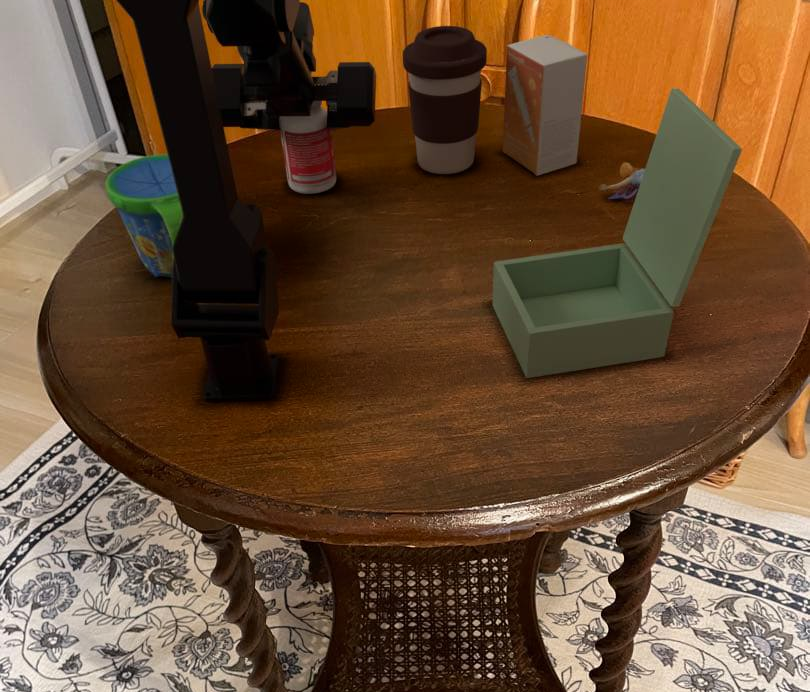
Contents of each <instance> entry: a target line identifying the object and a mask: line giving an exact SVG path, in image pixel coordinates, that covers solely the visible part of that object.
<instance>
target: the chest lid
mask: <svg viewBox="0 0 810 692" xmlns="http://www.w3.org/2000/svg"><path fill="white" fill-rule="evenodd" d="M655 135H656V136H655V138H654V141H653V144H652V147H651V151H650V153H649V156H648V160H647V163H646V166H645V168H644V169H645V171H644V174H643V177H642V181H641V184H640V185H639V186H640V187H638V190H637V192H636V196H635V199H634V202H633V205H632V208H631V211H630V214H629V217H628V221H627V224H626V227H625V228H624V229H625V230H624V233H623V236H622V240H623V241H624V243H625V244H626V245H627V247H628V248H629V249H630V251H631V252H632V254H633V255H634V256H635V258H636V259H637V261H638V262H639V263H640V265H641V266H642V268H643V269H644V270H645V272H646V273H647V275H648V276H649V277H650V279H651V280H652V282H653V283H654V284H655V286H656V287H657V289H658V290H659V291H660V293H661V294H662V296H663V297H664V298H665V300H666V301H667V303H668V304H669V305H670V307H671V308H680V305H681V303H682V301H683V298H684V296H685V293H686V291H687V288H688V285H689V283H690V281H691V279H692V276H693V274H694V270H695V268H696V266H697V263H698V260H699V258H700V256H701V254H702V250H703V248H704V246H705V243H706V241H707V238H708V235H709V234H710V231H711V229H712V226H713V223H714V221H715V219H716V216H717V214H718V211H719V208H720V206H721V203H722V201H723V199H724V196H725V193H726V191H727V188H728V186H729V183H730V182H731V178H732V176H733V174H734V171H735V169H736V167H737V164H738V161H739V158H740V156H741V154H742V151H743V148H742V147H741V146H740V145H739V144H738V143H737V142H736V141H735V140H734V139H733V138H732V137H730V136H729V135H728V134H727V132H725V131H724V130H723V129H722V128H721V127H720V126H719V125H718V123H716V122H715V121H713V120H712V118H711V117H709V116H708V114H707V113H706V112H704V111H703V109H702V108H700V107H699V106H698V105H697V104H696V103H695V102H694V101H692V99H691V98H689V96H687V94H685V93H684V92H683V91H682V90H681V89H680V88H674V87H671V89H670V92H669V95H668V98H667V101H666V104H665V106H664V110H663V113H662V117H661V119H660V123H659V126H658V129H657V132H656V134H655Z"/></svg>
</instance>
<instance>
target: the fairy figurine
mask: <svg viewBox="0 0 810 692" xmlns="http://www.w3.org/2000/svg"><path fill="white" fill-rule="evenodd" d="M644 171H645V168H641V167H639V168H638V167H634V166H633V165H632V164H631V163H630V162H625V161H624V162H623V163H622V164H621V166H620V168H619V174H620V177H621V178H622V179H623V181H621V182H618V183H615V184H611V185H607V184H605V183H602V184H600V185H599V187H598V191H605V190H618V189H619V188H620V189H619V191H617V192H616V193H615V194H613V195H612V196H610V197H607V199H608V200H615V199H622V198H623V199H626V200H628V199H630V198H632V197H633V196H634V195H635V194H637V193H638V190H639V187H640V184H641V181H642V177H643V174H644ZM633 187H635V190H634V189H632V193H631V190H629V188H633ZM622 190H625V191H624V193H622V194H620V191H622ZM627 193H629V194H627Z"/></svg>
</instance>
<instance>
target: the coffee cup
mask: <svg viewBox="0 0 810 692" xmlns="http://www.w3.org/2000/svg"><path fill="white" fill-rule="evenodd" d="M487 57H488V50H487V47H486V45H485V44H484V43H483V42H482V41H479V39H478V40H477V39H476V37H475V35H474V33H473V32H472V31H471V30H470V29H469V28H466V27H462V26H458V25H457V26H455V25H439V26H438V25H437V26H432V27H429V28H425V29H422V30H421V31H419V32H418V33H416V35H415V37H414V40H413V42H411V43H409V44H408V45H407V46H406V47H404V49H403V50H402V65H403V69H404V70H405V71H406V72H407V73H408V84H407V86H408V97H409V107H410V116H411V127H412V132H413V135H414V139H415V148H416V149H415V150H416V158H417V164H418V166H419V167H420V168H421V169H422V170H424V171H426V172H429V173H431V174H435V175H436V174H437V175H452V174H457V173H461V172H464V171H466V170H468V169H469V168H471V166H472V165H473V163H474V160H475V152H476V151H475V150H476V138H477V133H478V130H479V123H480V113H481V112H480V110H481V97H482V85H483V82H482V81H483V80H482V78H481V75H482V70H483V69H484V68H485V67H486V65H487V59H488V58H487Z"/></svg>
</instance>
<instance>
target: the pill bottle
mask: <svg viewBox="0 0 810 692" xmlns="http://www.w3.org/2000/svg"><path fill="white" fill-rule="evenodd" d="M322 104H323V101H313V103H312V109H311V110H310V116H280V118H279V127H280V131H279V132H280V138H281V140H280V141H281V144H282V152H283V158H284V163H285V164H284V165H285V171H286V178H287V183H288V187H289V188H290V189H291V190H293V191H294V192H296V193H299V194H303V195H313V194H319V193H323V192H326V191H328V190H330V189H332V188H333V187H334V186H335V185H336V182H337V170H336V160H335V151H334V143H333V135H332V134H333V132H332V130H330V129H328V128H327V109H326V108H324V107H323V106H322Z"/></svg>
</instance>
